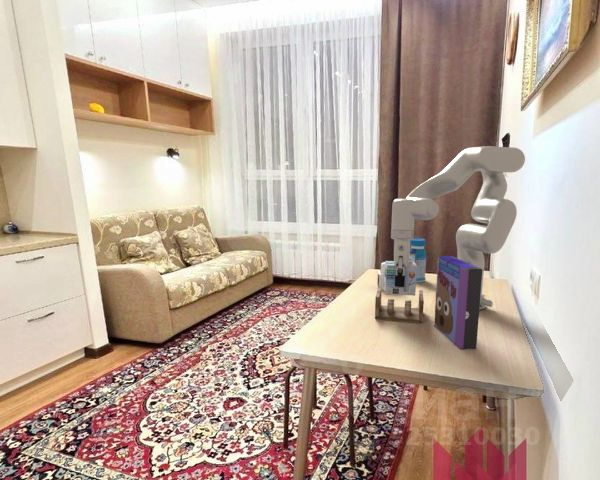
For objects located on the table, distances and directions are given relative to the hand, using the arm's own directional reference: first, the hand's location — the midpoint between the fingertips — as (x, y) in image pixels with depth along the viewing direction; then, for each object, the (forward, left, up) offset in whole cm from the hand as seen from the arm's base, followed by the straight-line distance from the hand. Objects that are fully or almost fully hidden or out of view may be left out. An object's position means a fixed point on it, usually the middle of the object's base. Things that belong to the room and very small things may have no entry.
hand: (399, 283), depth 135 cm
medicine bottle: (+22, -25, -12) cm, 36 cm away
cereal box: (-22, +4, -12) cm, 25 cm away
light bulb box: (0, 0, -4) cm, 4 cm away
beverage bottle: (+19, -46, -12) cm, 51 cm away
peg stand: (0, 0, -12) cm, 12 cm away
